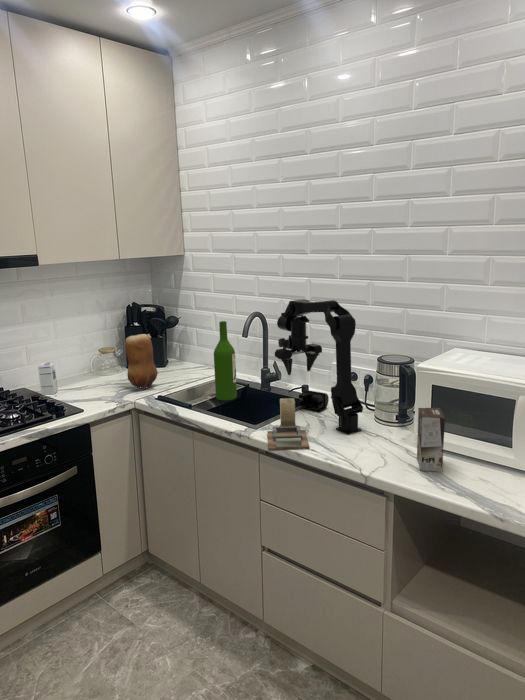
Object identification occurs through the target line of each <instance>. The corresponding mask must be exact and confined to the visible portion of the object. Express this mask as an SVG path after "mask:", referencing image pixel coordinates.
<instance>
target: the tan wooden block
mask: <svg viewBox="0 0 525 700" xmlns="http://www.w3.org/2000/svg"><path fill="white" fill-rule="evenodd" d="M279 408H280V409H279V413H280V415H279V416H280V427H287V426H296V401H295V398H294V397H290V398H279Z"/></svg>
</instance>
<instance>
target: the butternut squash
mask: <svg viewBox="0 0 525 700" xmlns="http://www.w3.org/2000/svg"><path fill="white" fill-rule="evenodd" d="M152 342H153V341H152V340H151V337H150V335H148V334H146V333H142V334H140V333H139V334H135V335H129V336H128V337H126V339H125V343H124V347H125V354H126V358H127V360H128V368H127V379H128V382H129V383H131V385H132V386H133V387H136V388H137V389H147V388H146V387H149V386H150V387H151V386H152V384H153V383H154V382H155V381H156V379H157V377H158V373H159V371H158V369H157V366H156V364H155V362H154V359H155V358H154V347H153V343H152ZM140 387H141V388H140ZM150 387H149V388H150Z"/></svg>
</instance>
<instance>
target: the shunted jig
mask: <svg viewBox="0 0 525 700" xmlns="http://www.w3.org/2000/svg"><path fill="white" fill-rule="evenodd" d="M307 435H308V434H307V431H306V429H302V428H301V426H300V425H295V426H287V427H281V426H273V427H272V430H267V443H268V445H267V446H268V451H287V450H289V451H291V450H293V451H294V450H310V443H309V439H308V436H307Z"/></svg>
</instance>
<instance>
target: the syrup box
mask: <svg viewBox="0 0 525 700" xmlns="http://www.w3.org/2000/svg"><path fill="white" fill-rule="evenodd" d="M37 370H38V378H39V384H40V392H41V396H42V395H55V394H56V393H57V391H58V390H59V389H58V382H57V373H56V368H55V362H44V363H43V362H42V363H40V364H39V365H38V366H37ZM58 392H59V391H58Z"/></svg>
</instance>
